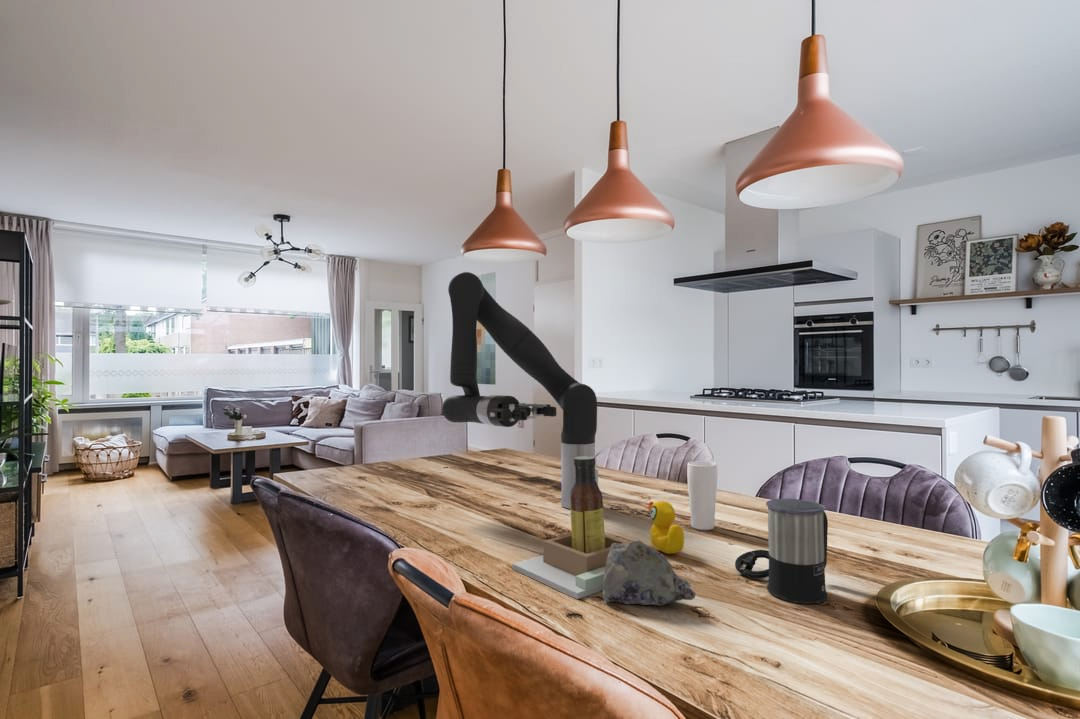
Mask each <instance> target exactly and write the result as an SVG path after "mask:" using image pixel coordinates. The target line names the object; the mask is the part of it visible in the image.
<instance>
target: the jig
mask: <svg viewBox="0 0 1080 719" xmlns="http://www.w3.org/2000/svg"><path fill="white" fill-rule="evenodd" d="M630 542H631V541H628V540H625V539H621V538H619V537H615V536H612V535H609V534H606V533H605V549H601V550H598V551H595V552H591V553H588V554H586V553H583V552H580V551H578V550H575V549H572V532H571V533H568V534H565V535H560V536H557V537H552V538H549V539H545V540H542V548H543V550H542V555H538V556H535V557H531V558H528V559H524V560H521V561H517V562H514V563H511V564H512V565H511V566H512V567H511V568H512V570H514V571H516V572H517V573H519V574H522V575H524V576H527V577H528V578H531V579H533V580H535V581H537V582H539V583H541V584H544V585H546V586H547V587H550V588H552V589H554V590H556V591H559V592H561V593H562V594H565V595H567V596H570V597H571V598H574V599H576V600H579V599H583V598H584V597H587V596H591V595H594V594H597V593H599V592H601V591H602V592H603V581H604V572H605V565H606V561H607V557H608V555H609V552H610V548H611V545H612V544H614V543H618V544H623V545H627V544H629V543H630Z"/></svg>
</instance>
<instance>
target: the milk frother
mask: <svg viewBox="0 0 1080 719" xmlns="http://www.w3.org/2000/svg"><path fill="white" fill-rule="evenodd" d="M765 505H766V507H767V530H768V532H767V533H768V539H767V540H768V550H766V549H755V550H749V551H747V552H745V553H743V554H741V555H739V556H738V557H736V559H735V562H734V567H735V570H737V572H738V573H740V574H741V575H743V576H746V577H748V578H753V579H765V578H768V583H767V585H766V589H767V591H768V593H770V595H771V596H773V597H776V598H778V599H780V600H783V601H787V602H791V603H796V604H802V603H803V605H804V604H805V605H808V604H809V605H811V604H812V605H813V604H820V603H824V602H825V601H826V600H827V599H828V593H827V589H826V587H827V586H826V574H825V573H826V572H825V569H826V566H827V561H828V533H829V532H828V529H829V524H828V522H829V521H828V516H827V514H826V507H825V506H824V505H823V504H821V503H819V502H816V501H811V500H805V499H797V498H775V499H770V500H768V501H766V502H765ZM758 559H767V560H768V569H764V570H753V568H754V566H755V565H756V562H757V561H758Z"/></svg>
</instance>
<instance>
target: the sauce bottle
mask: <svg viewBox="0 0 1080 719" xmlns="http://www.w3.org/2000/svg"><path fill="white" fill-rule="evenodd" d="M574 465H575V473H576V477H575V481H576V482H575V484H574V486H573V488H572V490H571V496H570V499H571V508H570V509H569V510H570V524H571V526H570V527H571V528H570V529H571V533H572V549H575V550H578V551H580V552H583V553H586V554H588V553H591V552H595V551H598V550H601V549H605V534H606V533H605V516H604V514H605V513H604V502H603V494H602V491H601V489H600V487H599V484H598V485H597V483H596V480H595V479H596V477H595V469H596V456H595V457H592V456H578V457H575V458H574Z"/></svg>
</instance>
